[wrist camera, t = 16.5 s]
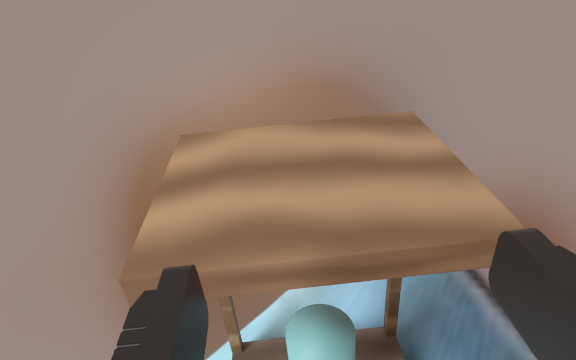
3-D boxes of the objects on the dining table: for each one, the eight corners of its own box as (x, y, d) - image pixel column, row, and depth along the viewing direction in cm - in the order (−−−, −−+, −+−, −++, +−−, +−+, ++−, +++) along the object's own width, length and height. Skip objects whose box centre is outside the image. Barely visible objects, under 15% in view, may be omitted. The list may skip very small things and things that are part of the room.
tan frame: (456, 532, 27) (567, 270, 14) (225, 560, 27) (100, 321, 13) (390, 338, 41) (412, 111, 27) (237, 356, 41) (180, 135, 27)
